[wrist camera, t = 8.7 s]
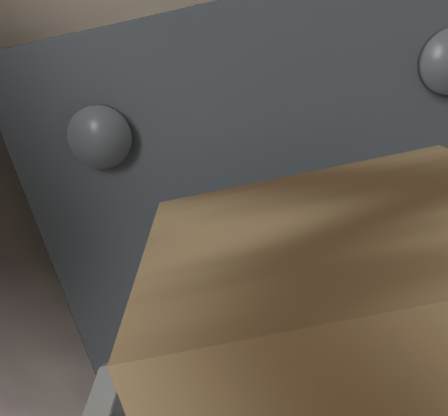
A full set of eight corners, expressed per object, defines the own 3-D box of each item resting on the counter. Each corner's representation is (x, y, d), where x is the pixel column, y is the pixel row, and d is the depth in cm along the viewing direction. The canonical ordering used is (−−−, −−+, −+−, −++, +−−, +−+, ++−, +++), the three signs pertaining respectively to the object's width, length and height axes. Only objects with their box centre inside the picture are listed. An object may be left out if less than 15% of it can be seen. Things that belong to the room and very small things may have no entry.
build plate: (525, -65, 11) (566, -80, 9) (508, 372, 15) (534, 400, 14) (-10, 56, 11) (-37, 56, 10) (136, 442, 16) (130, 474, 15)
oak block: (438, 145, 9) (705, 251, 4) (443, 369, 11) (624, 611, 6) (159, 202, 9) (107, 366, 4) (217, 411, 11) (224, 676, 6)
